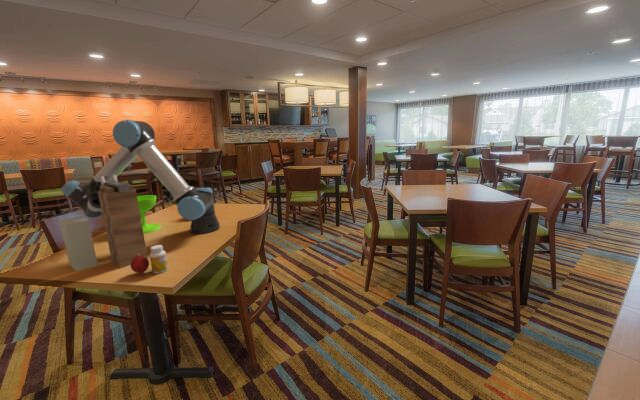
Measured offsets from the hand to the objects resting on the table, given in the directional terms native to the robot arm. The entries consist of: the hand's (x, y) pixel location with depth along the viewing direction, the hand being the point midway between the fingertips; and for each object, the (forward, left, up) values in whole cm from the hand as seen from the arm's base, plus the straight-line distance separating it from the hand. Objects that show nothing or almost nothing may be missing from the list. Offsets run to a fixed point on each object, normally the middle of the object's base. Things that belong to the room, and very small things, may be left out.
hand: (109, 178), depth 119 cm
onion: (-16, +17, -34) cm, 42 cm away
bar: (-3, +2, -4) cm, 5 cm away
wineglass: (+13, -39, -34) cm, 54 cm away
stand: (-4, +4, -34) cm, 35 cm away
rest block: (+13, +6, -34) cm, 37 cm away
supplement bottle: (-22, +15, -34) cm, 44 cm away
